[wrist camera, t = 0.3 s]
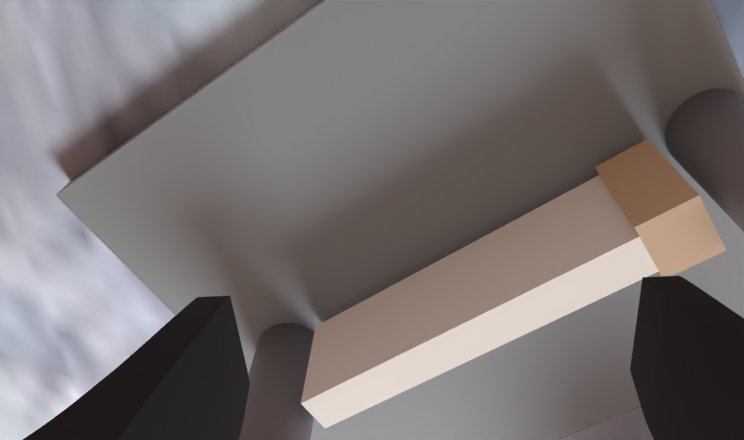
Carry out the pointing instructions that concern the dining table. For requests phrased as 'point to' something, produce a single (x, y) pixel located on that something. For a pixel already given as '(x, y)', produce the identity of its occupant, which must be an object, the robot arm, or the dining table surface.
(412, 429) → the gate frame
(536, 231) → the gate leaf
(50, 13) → the dining table surface
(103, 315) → the dining table surface
